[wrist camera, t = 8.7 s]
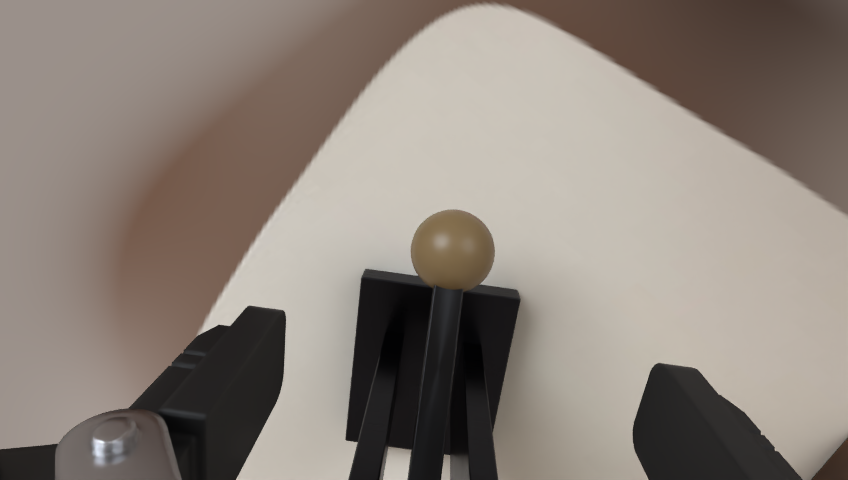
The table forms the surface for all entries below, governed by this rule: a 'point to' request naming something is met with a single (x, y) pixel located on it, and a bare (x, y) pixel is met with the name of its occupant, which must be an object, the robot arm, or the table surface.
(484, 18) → the table surface
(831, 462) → the button block
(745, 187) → the table surface
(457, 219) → the switch lever
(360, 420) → the switch bracket
